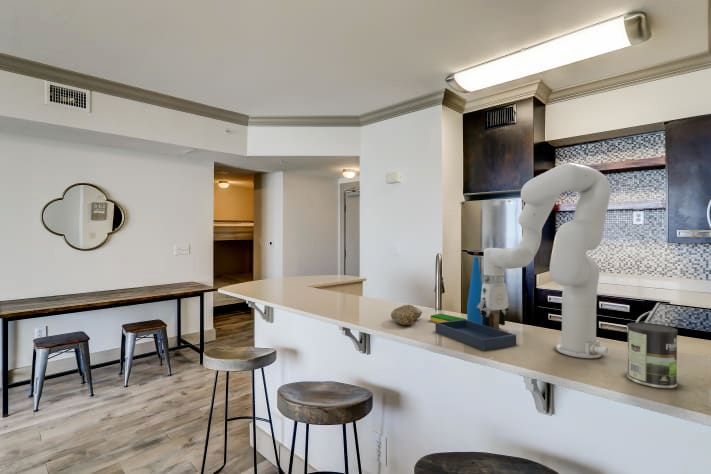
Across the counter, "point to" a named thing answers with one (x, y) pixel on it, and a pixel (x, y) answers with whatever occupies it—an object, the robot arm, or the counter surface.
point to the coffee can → (652, 354)
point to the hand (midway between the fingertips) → (493, 325)
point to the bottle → (475, 293)
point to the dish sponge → (443, 318)
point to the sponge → (406, 314)
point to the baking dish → (476, 334)
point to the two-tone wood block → (495, 321)
